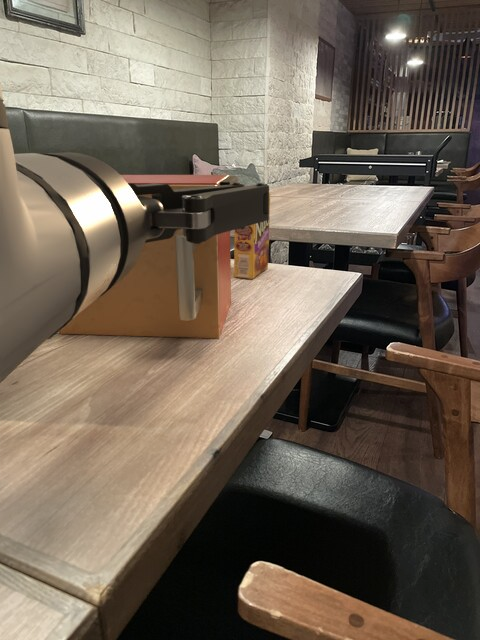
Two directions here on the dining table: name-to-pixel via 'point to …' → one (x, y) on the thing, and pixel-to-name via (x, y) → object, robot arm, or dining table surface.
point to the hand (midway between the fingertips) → (157, 192)
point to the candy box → (251, 249)
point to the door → (160, 293)
